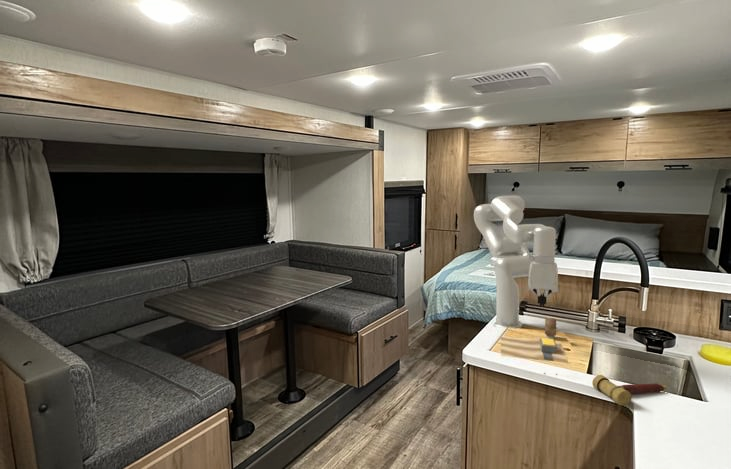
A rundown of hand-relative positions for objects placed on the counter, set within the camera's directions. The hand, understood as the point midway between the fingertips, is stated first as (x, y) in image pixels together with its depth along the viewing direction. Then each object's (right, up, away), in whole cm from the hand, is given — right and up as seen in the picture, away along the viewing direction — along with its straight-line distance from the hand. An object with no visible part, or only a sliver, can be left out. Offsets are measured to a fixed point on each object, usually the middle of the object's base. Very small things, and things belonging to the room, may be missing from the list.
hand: (541, 305), depth 149 cm
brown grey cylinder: (+7, -16, +7) cm, 18 cm away
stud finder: (0, -16, -4) cm, 16 cm away
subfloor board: (-5, -17, -3) cm, 18 cm away
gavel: (+13, -21, -33) cm, 41 cm away
